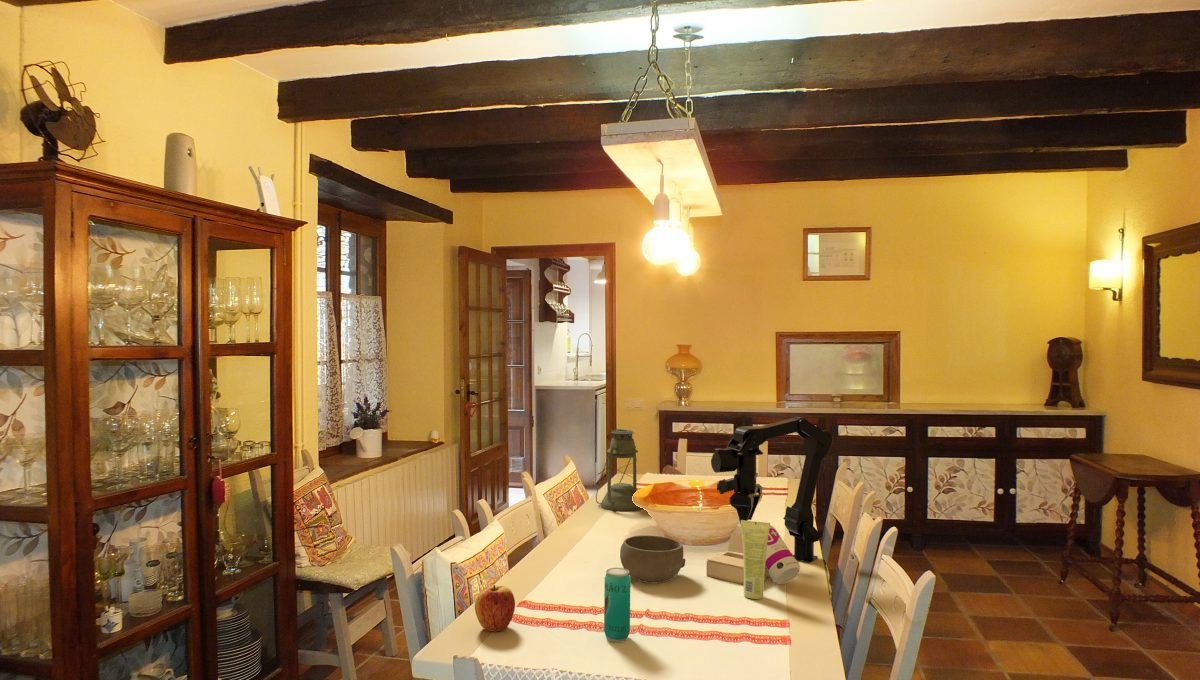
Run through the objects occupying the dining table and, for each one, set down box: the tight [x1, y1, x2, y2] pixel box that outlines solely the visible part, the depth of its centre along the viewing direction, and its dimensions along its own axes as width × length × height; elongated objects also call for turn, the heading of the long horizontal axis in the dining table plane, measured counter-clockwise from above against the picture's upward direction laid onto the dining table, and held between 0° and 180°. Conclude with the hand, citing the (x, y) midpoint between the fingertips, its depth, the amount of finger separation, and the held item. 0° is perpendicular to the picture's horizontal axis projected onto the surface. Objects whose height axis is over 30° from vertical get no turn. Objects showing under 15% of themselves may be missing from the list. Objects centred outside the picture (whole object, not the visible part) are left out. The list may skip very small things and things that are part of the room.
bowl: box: [619, 534, 686, 584], centre depth 211 cm, size 17×18×10 cm
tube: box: [740, 520, 771, 600], centre depth 197 cm, size 6×5×20 cm
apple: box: [474, 584, 516, 632], centre depth 174 cm, size 9×9×10 cm
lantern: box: [595, 428, 642, 513], centre depth 297 cm, size 21×18×30 cm
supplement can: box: [765, 524, 801, 585], centre depth 209 cm, size 8×8×15 cm
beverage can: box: [603, 567, 631, 643], centre depth 169 cm, size 6×6×15 cm
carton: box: [705, 550, 770, 585], centre depth 214 cm, size 12×14×5 cm
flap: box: [727, 533, 743, 554], centre depth 220 cm, size 5×14×1 cm
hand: (746, 523), depth 224 cm, fingers open, 9 cm apart
